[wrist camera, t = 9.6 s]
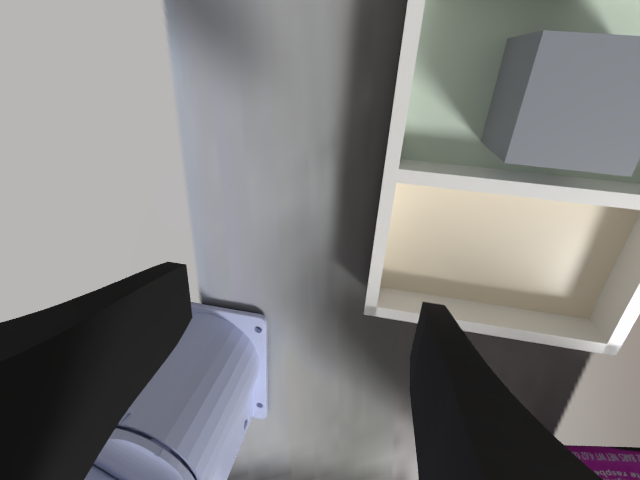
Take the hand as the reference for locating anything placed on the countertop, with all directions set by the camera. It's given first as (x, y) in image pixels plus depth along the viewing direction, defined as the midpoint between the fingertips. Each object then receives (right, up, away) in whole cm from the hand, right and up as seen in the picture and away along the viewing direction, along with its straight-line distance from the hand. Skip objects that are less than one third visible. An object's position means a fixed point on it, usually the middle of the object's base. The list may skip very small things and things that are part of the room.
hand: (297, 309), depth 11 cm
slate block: (+10, +8, +4) cm, 13 cm away
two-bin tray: (+10, +5, +6) cm, 13 cm away
